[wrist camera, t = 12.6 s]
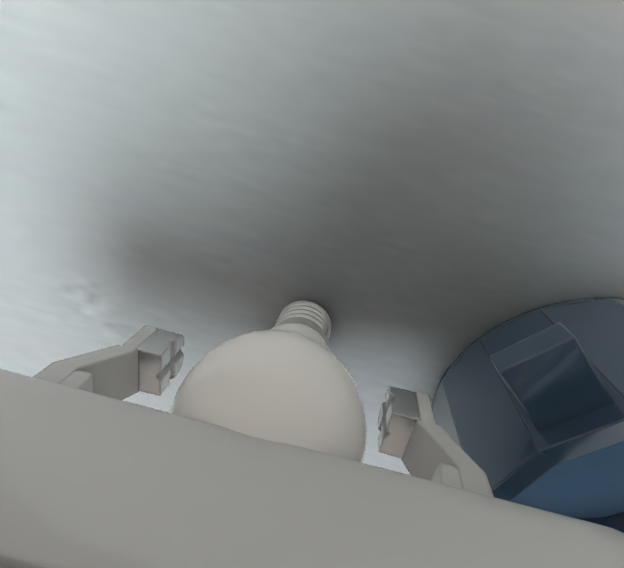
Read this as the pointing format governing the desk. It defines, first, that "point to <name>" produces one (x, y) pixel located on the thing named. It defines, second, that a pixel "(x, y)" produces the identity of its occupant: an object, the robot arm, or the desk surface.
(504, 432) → the pot
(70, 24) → the desk surface
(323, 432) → the lightbulb
